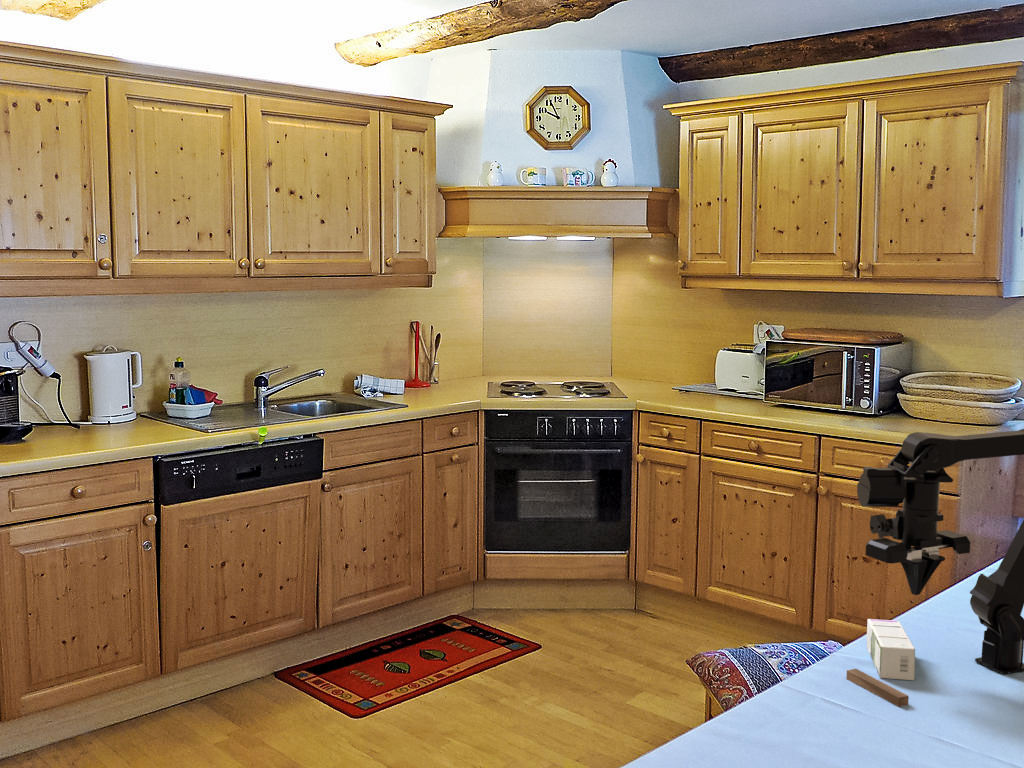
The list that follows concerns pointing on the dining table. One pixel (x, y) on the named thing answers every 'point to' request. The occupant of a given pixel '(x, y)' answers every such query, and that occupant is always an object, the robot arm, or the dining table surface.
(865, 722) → the dining table surface
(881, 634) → the syrup box
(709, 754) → the dining table surface
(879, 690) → the strip
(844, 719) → the dining table surface
